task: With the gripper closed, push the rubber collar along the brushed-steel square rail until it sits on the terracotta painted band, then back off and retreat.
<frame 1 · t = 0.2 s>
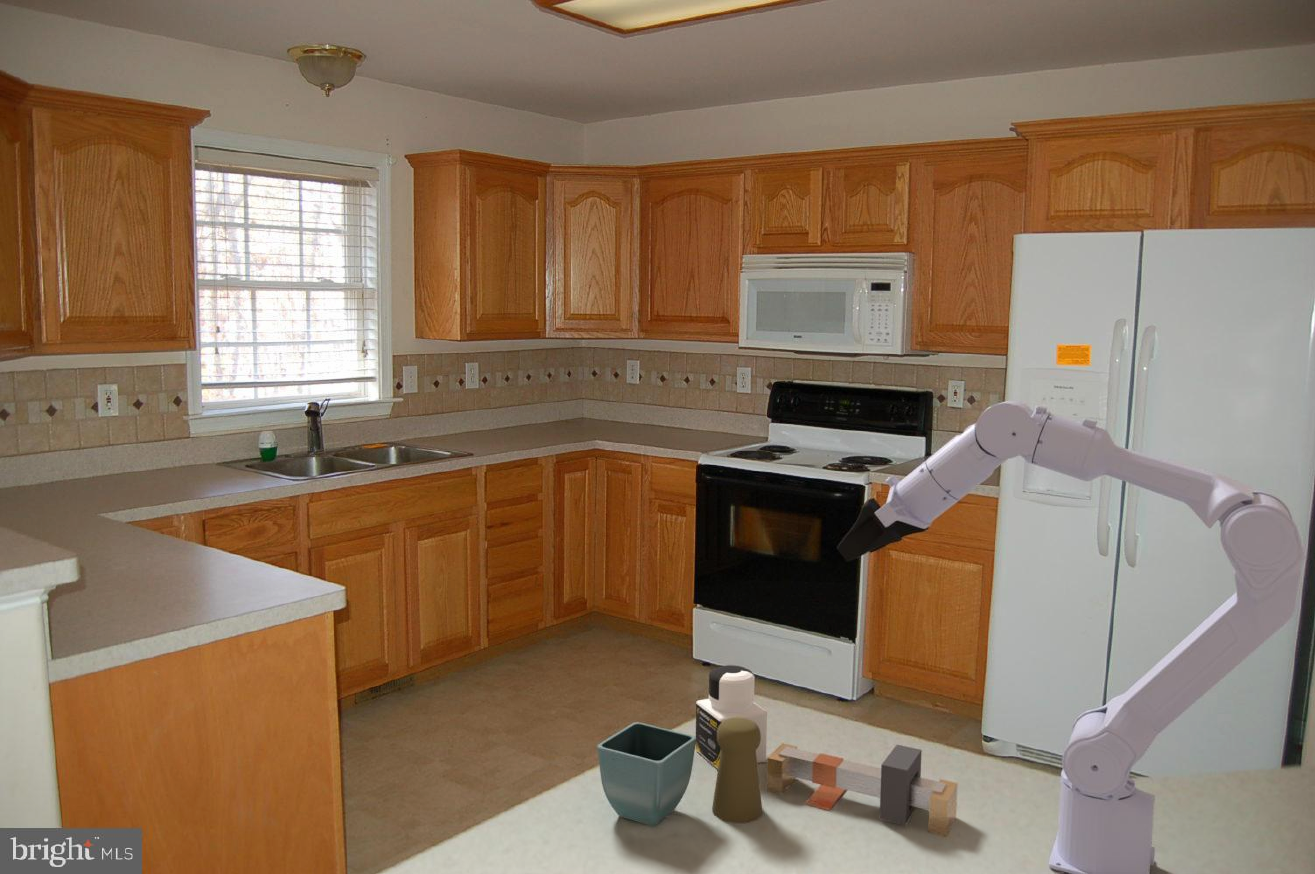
hand: (854, 550, 116), 31 cm above the countertop, tool tilted 45°, fingers open, 7 cm apart
rail: (858, 803, 118), on the countertop
medicine bottle: (730, 757, 131), on the countertop
collar: (900, 783, 115), point 4 cm above the countertop, slide at 0.0 cm
brown pawn figure: (737, 811, 116), on the countertop
flower pot: (646, 814, 115), on the countertop
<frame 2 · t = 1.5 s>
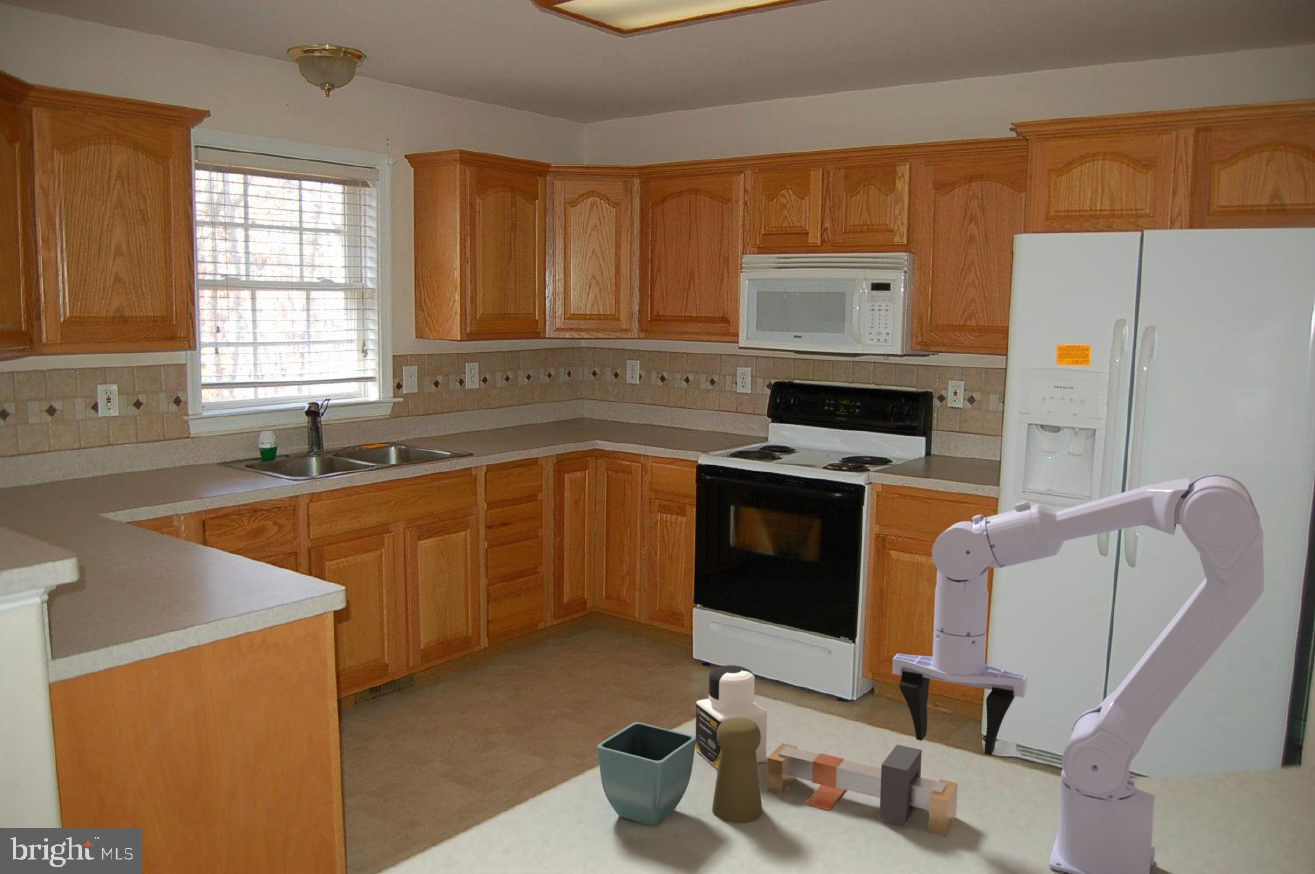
hand: (954, 744, 112), 10 cm above the countertop, tool pointing down, fingers open, 7 cm apart
nothing on the countertop moved.
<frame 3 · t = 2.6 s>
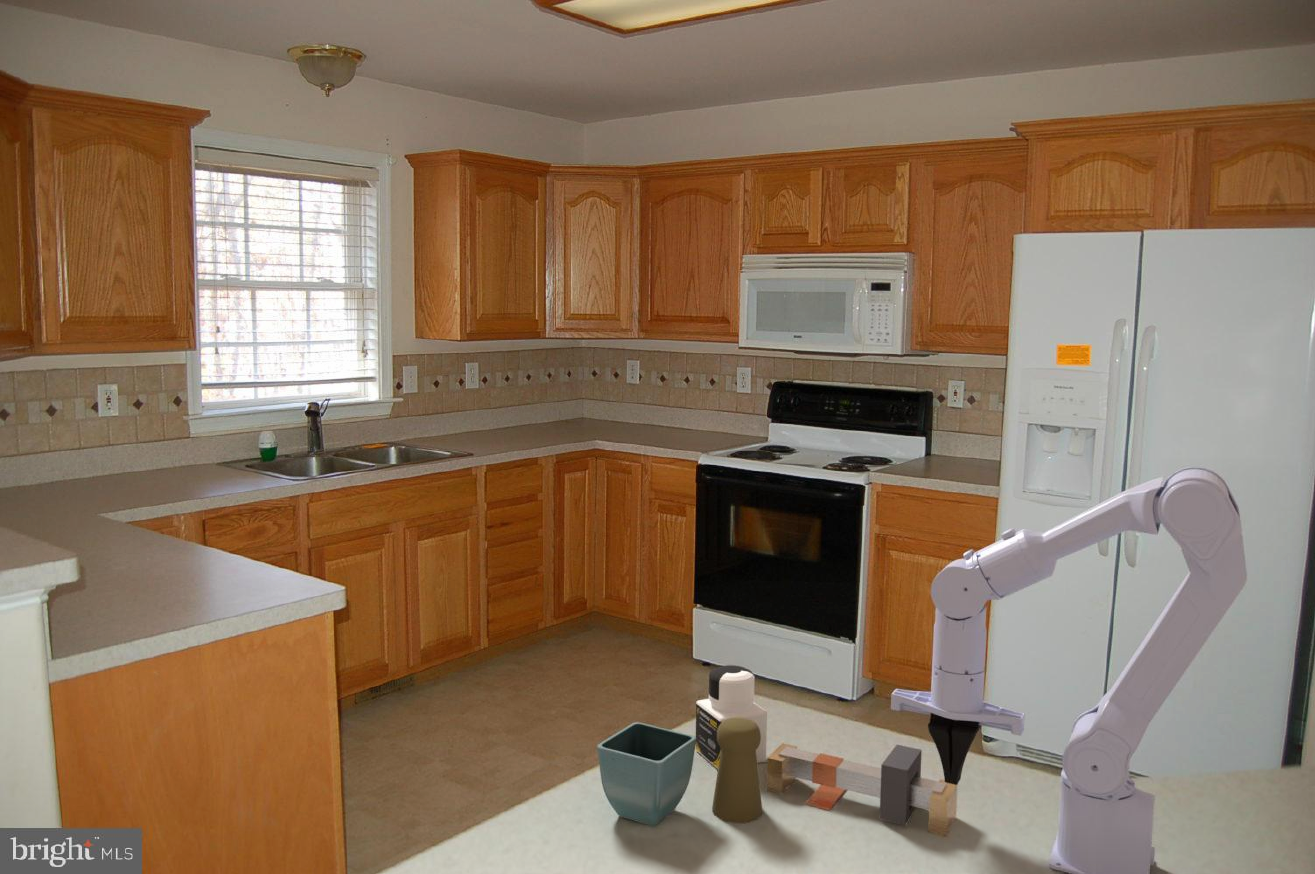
hand: (952, 780, 112), 6 cm above the countertop, tool pointing down, fingers closed
nothing on the countertop moved.
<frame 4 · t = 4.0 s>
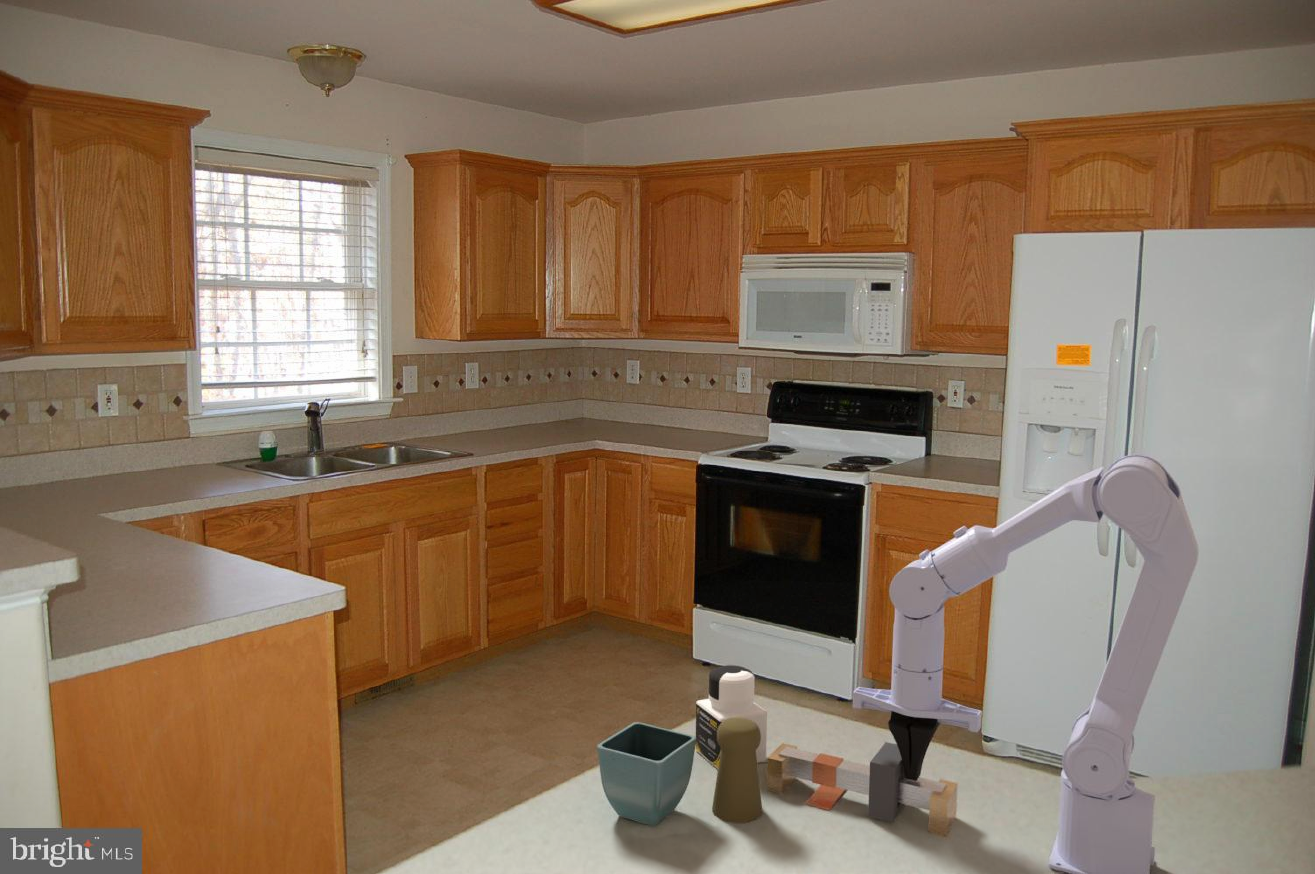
hand: (912, 776, 115), 5 cm above the countertop, tool pointing down, fingers closed
collar: (889, 781, 116), point 4 cm above the countertop, slide at 1.4 cm, touching gripper
everything else where it was.
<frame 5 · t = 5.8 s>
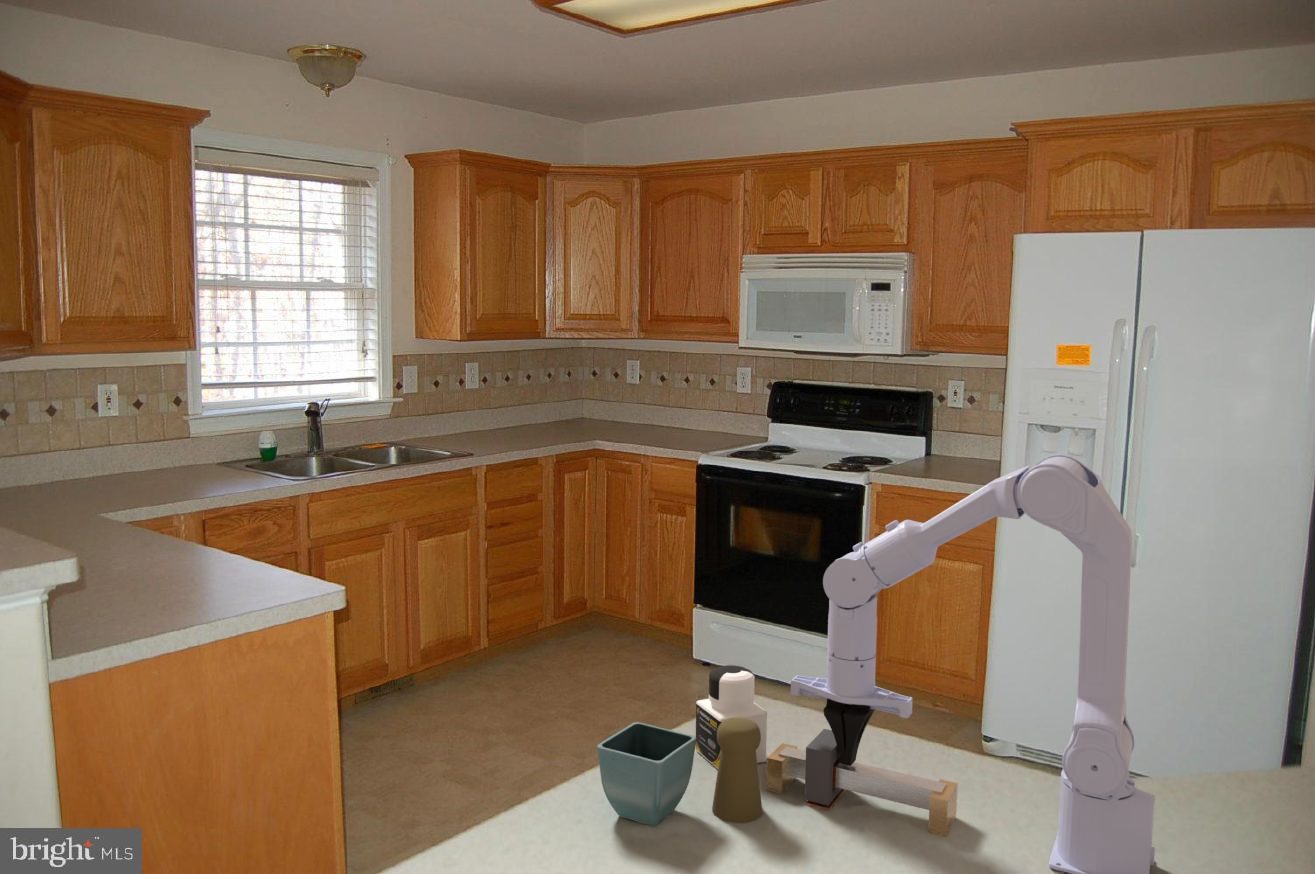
hand: (848, 761, 118), 5 cm above the countertop, tool pointing down, fingers closed
collar: (826, 766, 120), point 4 cm above the countertop, slide at 9.2 cm, touching gripper
everything else where it was.
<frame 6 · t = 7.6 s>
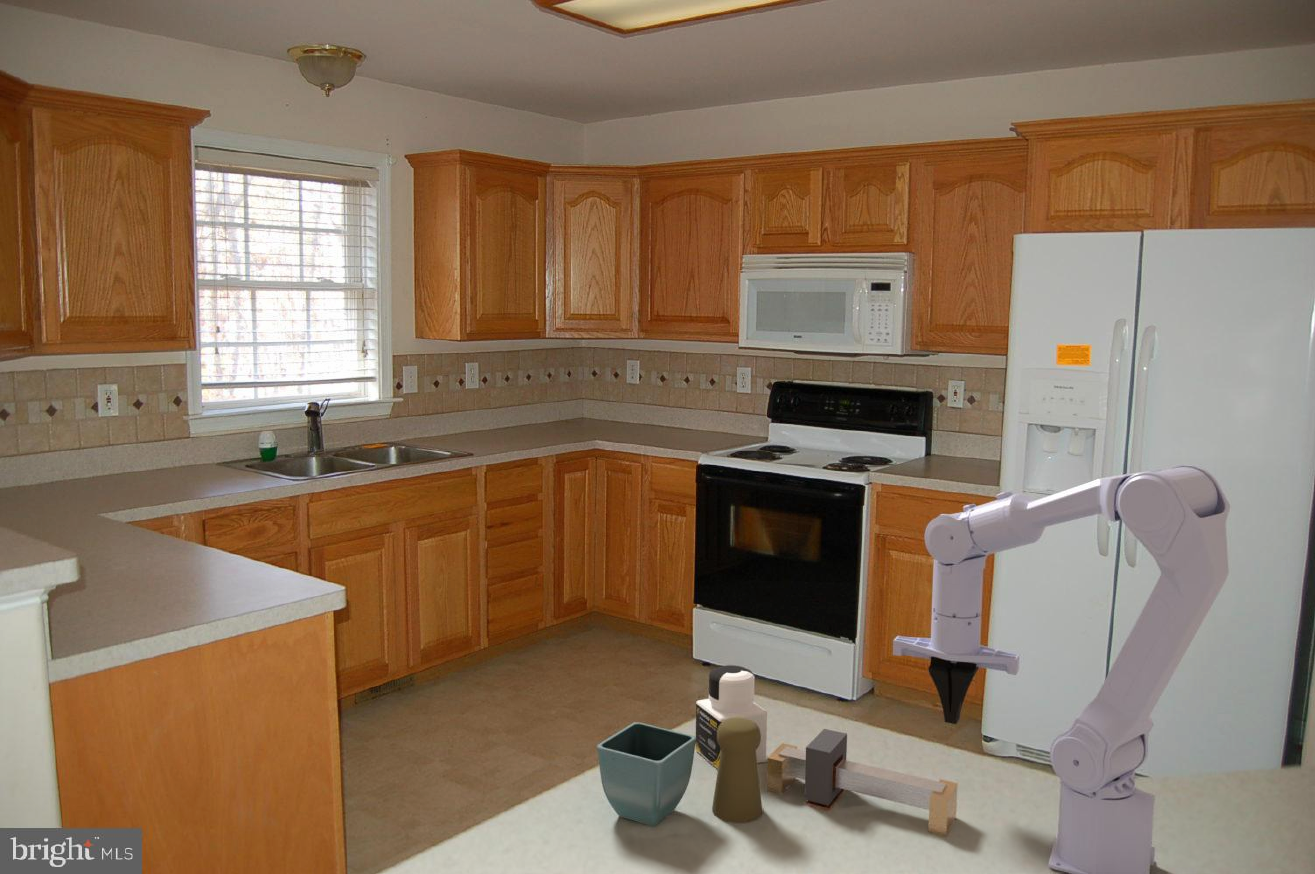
hand: (952, 720, 119), 10 cm above the countertop, tool pointing down, fingers closed
collar: (826, 766, 120), point 4 cm above the countertop, slide at 9.2 cm
everything else where it was.
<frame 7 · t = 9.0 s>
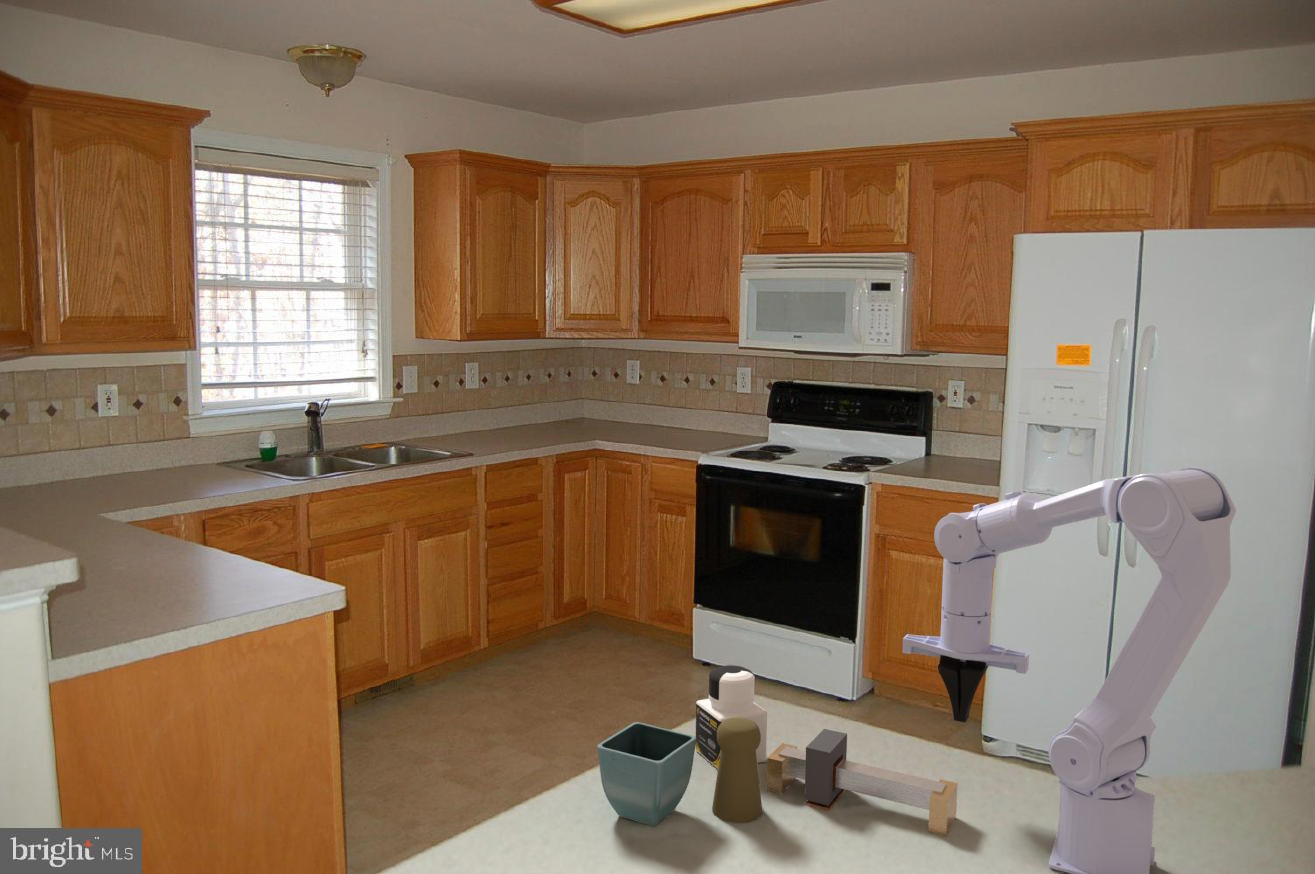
hand: (961, 718, 119), 10 cm above the countertop, tool pointing down, fingers closed
nothing on the countertop moved.
at the end: collar slide at 9.2 cm; collar moved 9.2 cm from its start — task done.
